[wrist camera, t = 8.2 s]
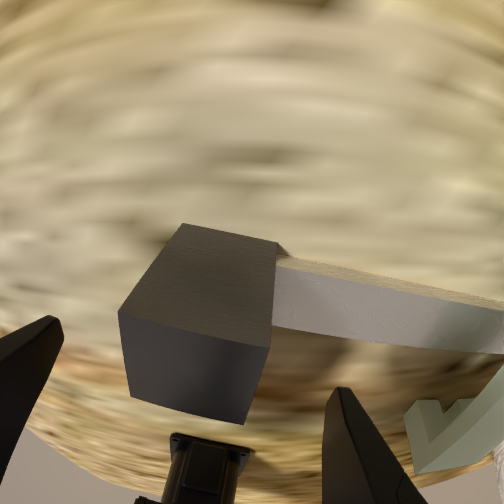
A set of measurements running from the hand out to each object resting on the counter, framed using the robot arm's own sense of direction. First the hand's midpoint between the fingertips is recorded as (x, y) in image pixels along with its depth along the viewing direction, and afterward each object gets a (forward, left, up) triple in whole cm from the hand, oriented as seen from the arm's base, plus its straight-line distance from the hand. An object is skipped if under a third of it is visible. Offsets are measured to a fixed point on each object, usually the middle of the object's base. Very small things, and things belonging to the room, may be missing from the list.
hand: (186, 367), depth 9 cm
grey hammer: (0, -9, -6) cm, 10 cm away
